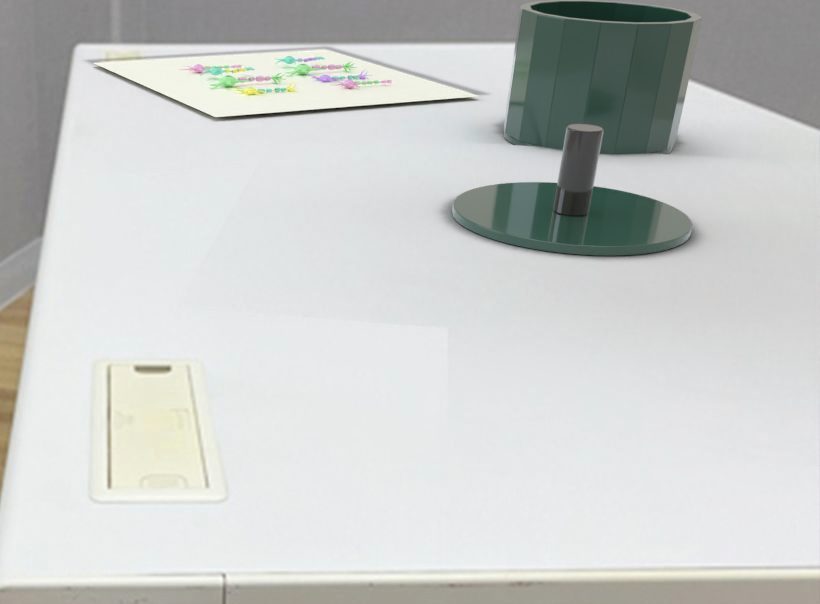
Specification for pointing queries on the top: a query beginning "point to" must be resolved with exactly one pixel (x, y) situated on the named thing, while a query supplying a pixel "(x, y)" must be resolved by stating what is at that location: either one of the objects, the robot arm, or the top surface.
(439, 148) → the top surface
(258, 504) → the top surface
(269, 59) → the printed paper
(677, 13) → the tin
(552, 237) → the tin lid
